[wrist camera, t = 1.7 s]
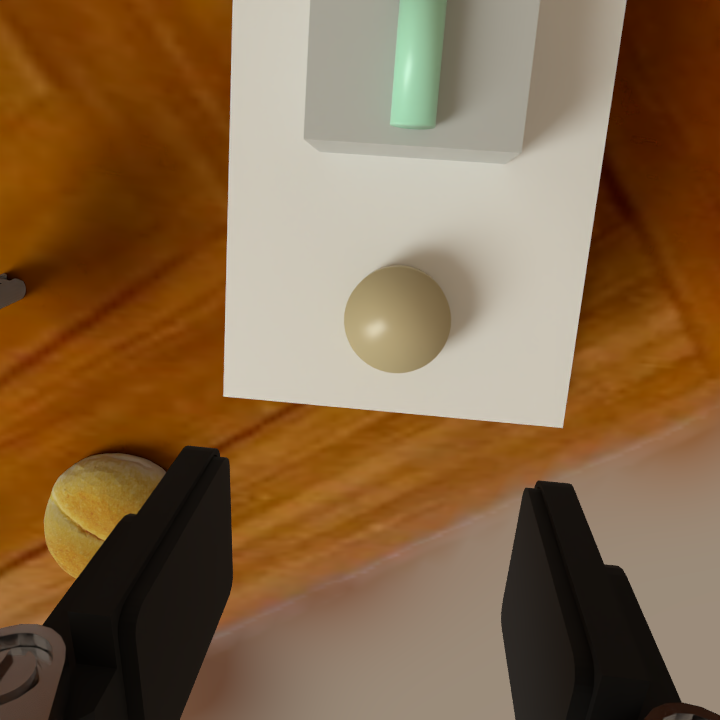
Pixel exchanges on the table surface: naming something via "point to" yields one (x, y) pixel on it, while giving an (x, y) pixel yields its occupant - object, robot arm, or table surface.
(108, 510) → the bread roll
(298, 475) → the table surface
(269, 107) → the levelling plate
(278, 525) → the table surface
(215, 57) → the table surface
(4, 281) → the mechanical component
